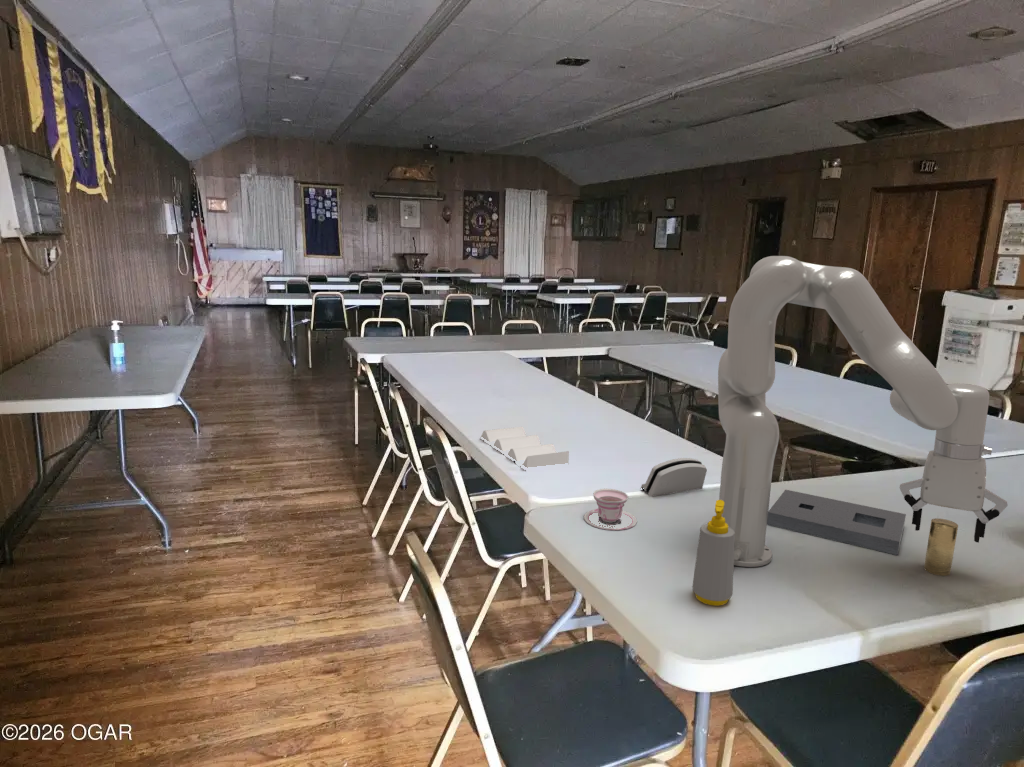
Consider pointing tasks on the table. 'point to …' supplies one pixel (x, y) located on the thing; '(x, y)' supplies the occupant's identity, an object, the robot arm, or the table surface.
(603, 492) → the teacup
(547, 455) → the white zigzag rack
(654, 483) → the napkin holder
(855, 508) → the plate
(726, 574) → the soap bottle
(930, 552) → the tan cylinder
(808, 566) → the table surface
